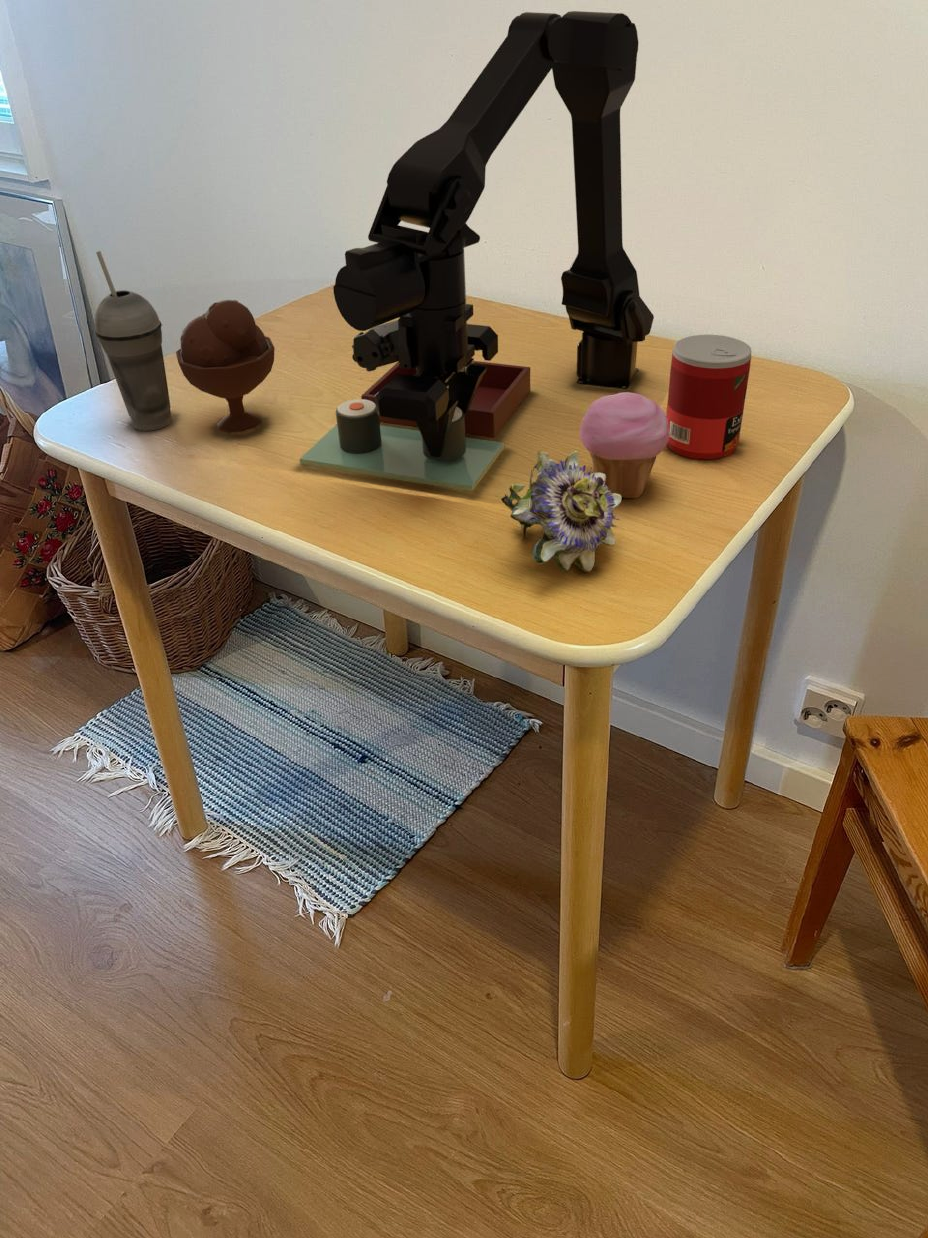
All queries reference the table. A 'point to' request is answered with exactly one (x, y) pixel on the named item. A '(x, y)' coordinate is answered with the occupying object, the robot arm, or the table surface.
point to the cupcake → (624, 440)
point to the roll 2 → (452, 439)
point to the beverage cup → (134, 354)
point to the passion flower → (566, 511)
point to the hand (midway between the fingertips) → (444, 446)
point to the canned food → (707, 395)
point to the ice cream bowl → (226, 359)
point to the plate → (407, 459)
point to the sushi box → (476, 397)
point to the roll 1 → (358, 426)
